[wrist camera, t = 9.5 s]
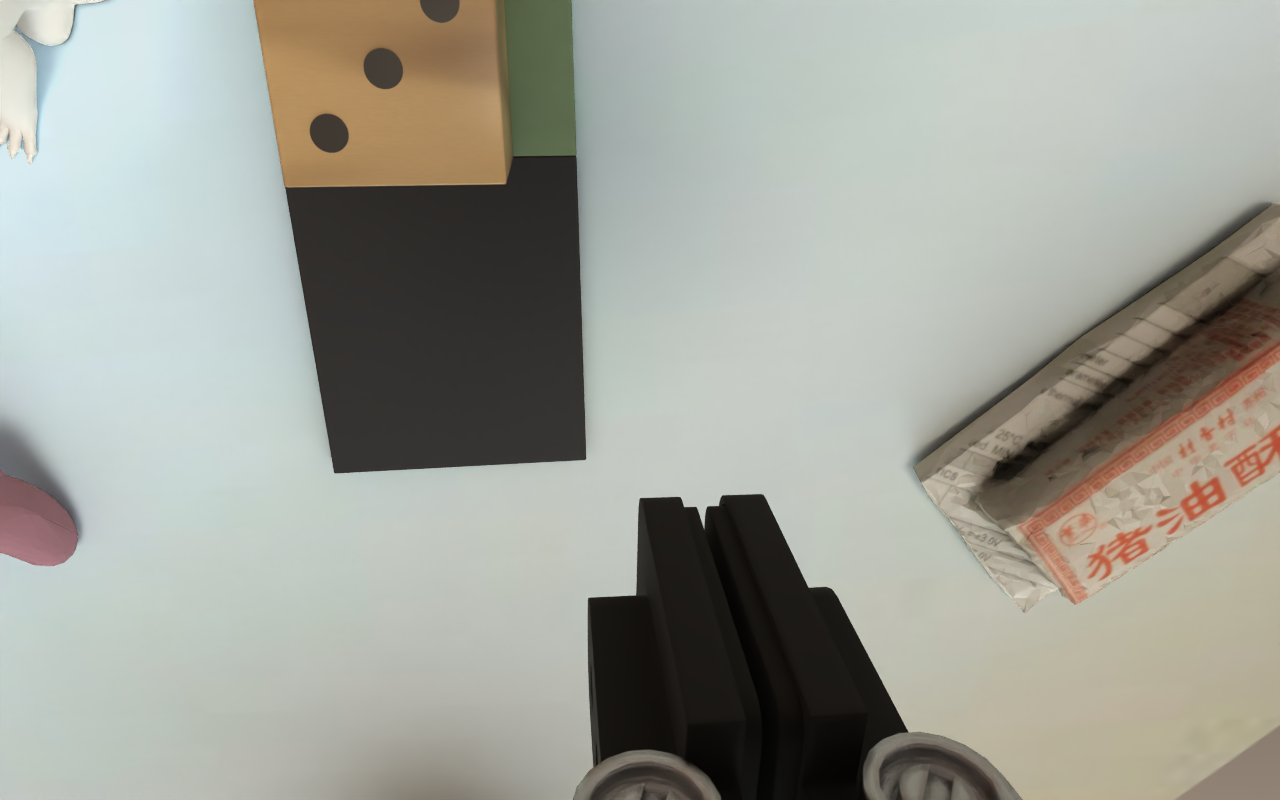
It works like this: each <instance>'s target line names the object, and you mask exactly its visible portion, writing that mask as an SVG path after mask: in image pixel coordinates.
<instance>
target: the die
mask: <svg viewBox="0 0 1280 800" xmlns="http://www.w3.org/2000/svg"><path fill="white" fill-rule="evenodd" d="M253 1H254V7H255V13H256V19H257V25H258V31H259V37H260V43H261V49H262V55H263V61H264V67H265V73H266V79H267V85H268V91H269V97H270V103H271V109H272V115H273V121H274V127H275V133H276V139H277V145H278V151H279V157H280V163H281V169H282V175H283V181H284V186H285V187H347V186H416V185H485V184H506V182H507V178H508V175H509V171H510V167H511V164H512V160H513V146H512V129H511V112H510V94H509V77H508V60H507V43H506V25H505V8H504V0H253Z"/></svg>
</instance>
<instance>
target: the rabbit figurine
mask: <svg viewBox="0 0 1280 800" xmlns="http://www.w3.org/2000/svg"><path fill="white" fill-rule="evenodd" d="M102 1H104V0H0V145H1V144H5V143H6V140H7V137H8V135H9V133H10V135H9V143H8V146H7V149H8V150H9V153H10V157H11V159H13V158H14V157H15V154H16V153H17V152H20V151H21V142H22V139H24V152H25V153H26V155H27V160H28V163H29V164H30V165H31V163H32V159H33V156H36V155H37V149H36V125H37V118H38V109H37V103H36V79H37V66H36V59H35V55H34V52H33V50H32V48H31V47H30V45H29V44H28V43H27V42H26V40H25V39H24V38H23V37H22V36H20V35H19V34H18V33H17V32H16V31H15V30H14V28H15V26H16V25H17V27H18V28H19V29H20V31H21V32H22V33H23V34H24V35H26V36H28V37H29V38H31V39H33V40H35V41H37V42H39V43H41V44H44V45H47V46H56V45H60V44H62V43H63V42H65V41H66V40H67V39H68V37H69V34H70V32H71V28H72V24H73V14H74V7H75V5H77V4H87V3H97V2H102Z"/></svg>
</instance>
